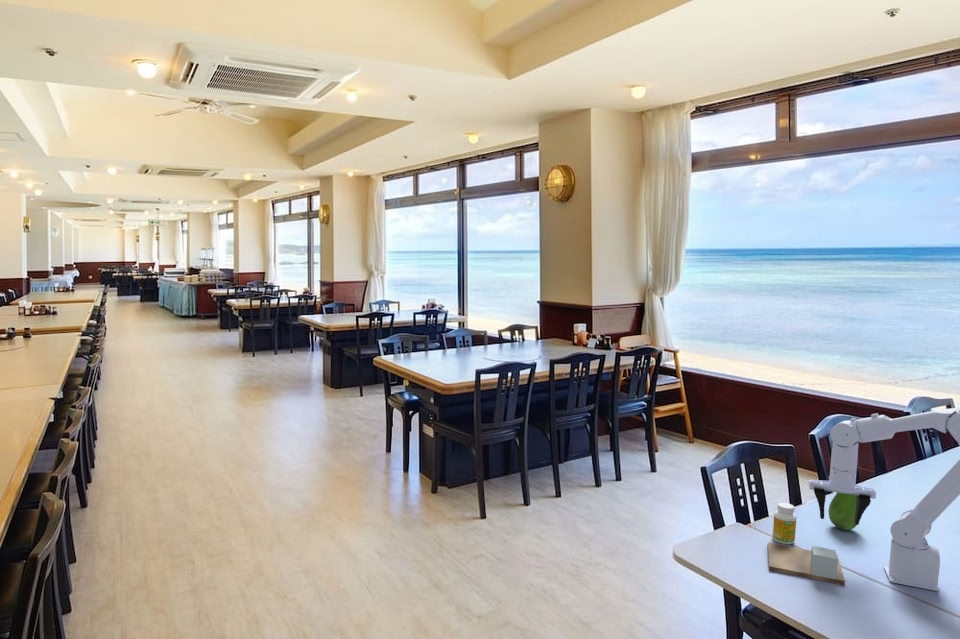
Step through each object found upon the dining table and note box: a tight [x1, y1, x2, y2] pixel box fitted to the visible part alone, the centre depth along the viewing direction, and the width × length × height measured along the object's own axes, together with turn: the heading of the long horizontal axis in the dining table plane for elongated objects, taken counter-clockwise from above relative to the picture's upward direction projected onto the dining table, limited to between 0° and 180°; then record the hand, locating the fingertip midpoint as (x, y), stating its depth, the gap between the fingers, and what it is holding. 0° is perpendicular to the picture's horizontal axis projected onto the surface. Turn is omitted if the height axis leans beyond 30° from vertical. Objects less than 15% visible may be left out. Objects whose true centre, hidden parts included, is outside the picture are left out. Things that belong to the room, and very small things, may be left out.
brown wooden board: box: [767, 542, 846, 586], centre depth 155 cm, size 16×14×1 cm
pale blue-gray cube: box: [810, 545, 839, 579], centre depth 149 cm, size 5×5×5 cm
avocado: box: [828, 492, 863, 531], centre depth 177 cm, size 8×8×12 cm
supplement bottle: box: [772, 502, 797, 545], centre depth 168 cm, size 5×5×10 cm
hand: (839, 520), depth 160 cm, fingers open, 7 cm apart
